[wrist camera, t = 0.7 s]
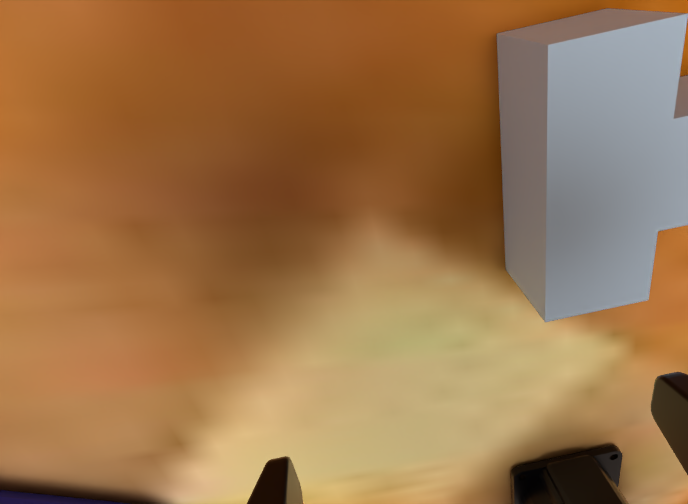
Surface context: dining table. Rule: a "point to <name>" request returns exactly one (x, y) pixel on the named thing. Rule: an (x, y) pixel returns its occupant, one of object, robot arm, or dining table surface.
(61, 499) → the blue and olive box
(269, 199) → the dining table surface
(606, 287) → the t block
